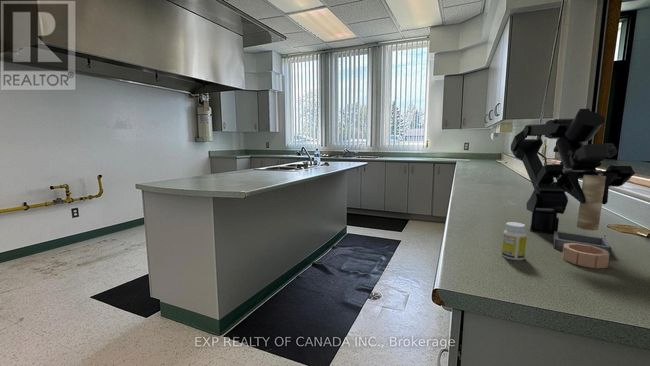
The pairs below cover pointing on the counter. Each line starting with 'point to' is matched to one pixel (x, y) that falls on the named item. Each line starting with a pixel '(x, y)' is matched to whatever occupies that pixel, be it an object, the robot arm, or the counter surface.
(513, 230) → the supplement bottle
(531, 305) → the counter surface
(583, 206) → the dowel
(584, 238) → the tray
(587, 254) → the pink faceted bowl
